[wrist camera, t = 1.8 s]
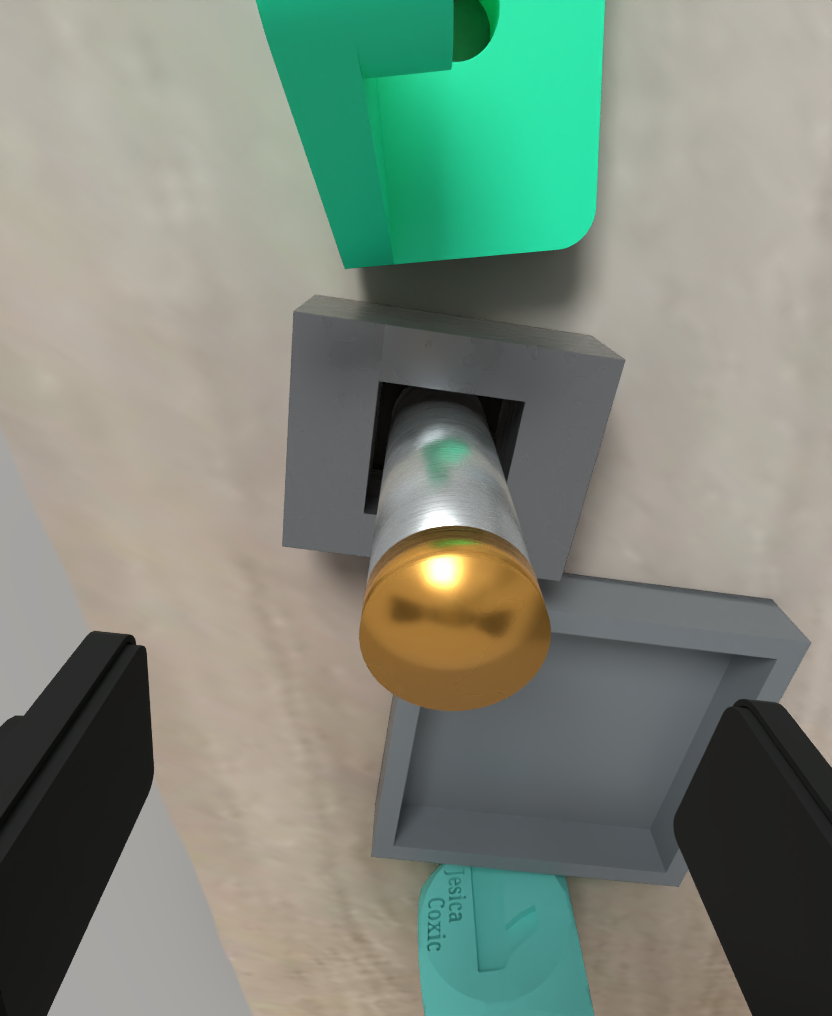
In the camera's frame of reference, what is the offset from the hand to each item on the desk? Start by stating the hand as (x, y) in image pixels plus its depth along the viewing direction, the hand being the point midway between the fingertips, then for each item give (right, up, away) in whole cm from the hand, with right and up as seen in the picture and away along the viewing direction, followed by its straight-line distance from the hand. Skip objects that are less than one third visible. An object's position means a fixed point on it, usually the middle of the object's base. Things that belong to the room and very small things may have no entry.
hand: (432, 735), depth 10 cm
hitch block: (+1, +7, +13) cm, 15 cm away
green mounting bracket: (+1, +18, +8) cm, 20 cm away
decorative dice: (+5, -19, +26) cm, 33 cm away
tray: (+7, -6, +20) cm, 22 cm away
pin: (+1, +7, +13) cm, 15 cm away
